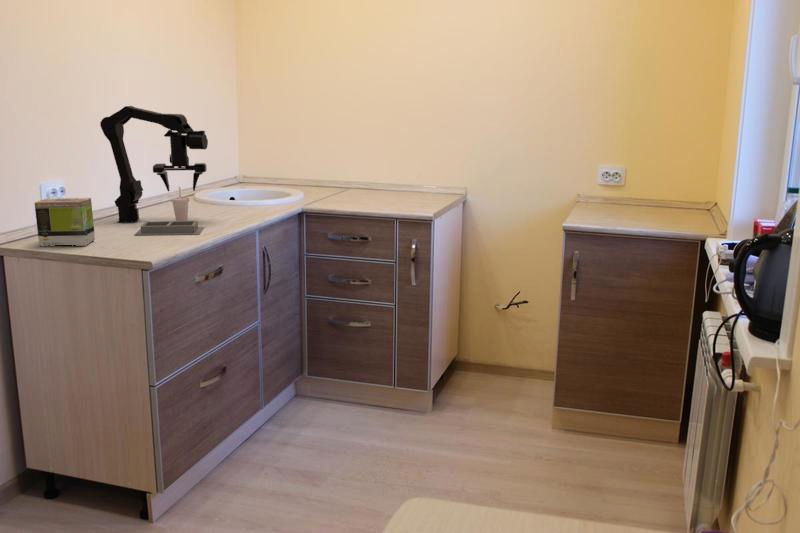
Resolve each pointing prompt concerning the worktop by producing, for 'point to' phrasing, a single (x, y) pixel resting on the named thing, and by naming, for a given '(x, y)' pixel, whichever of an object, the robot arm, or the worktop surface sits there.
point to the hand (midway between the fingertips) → (181, 191)
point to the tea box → (65, 221)
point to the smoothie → (180, 207)
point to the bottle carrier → (169, 228)
